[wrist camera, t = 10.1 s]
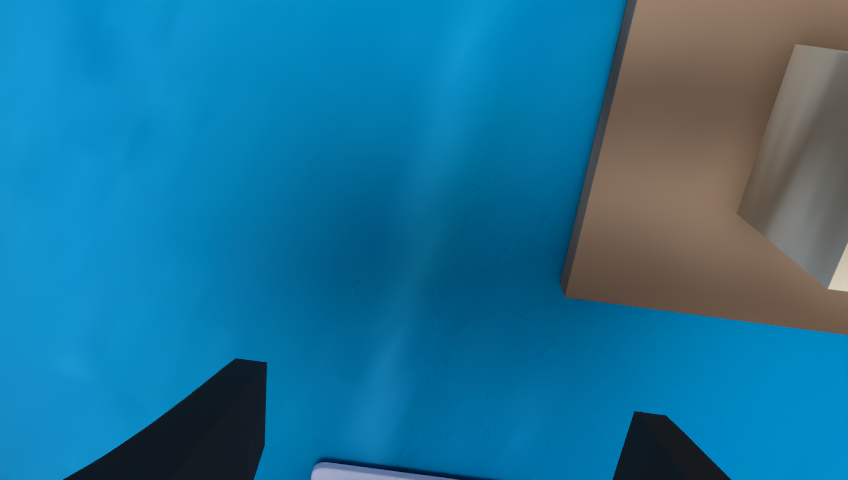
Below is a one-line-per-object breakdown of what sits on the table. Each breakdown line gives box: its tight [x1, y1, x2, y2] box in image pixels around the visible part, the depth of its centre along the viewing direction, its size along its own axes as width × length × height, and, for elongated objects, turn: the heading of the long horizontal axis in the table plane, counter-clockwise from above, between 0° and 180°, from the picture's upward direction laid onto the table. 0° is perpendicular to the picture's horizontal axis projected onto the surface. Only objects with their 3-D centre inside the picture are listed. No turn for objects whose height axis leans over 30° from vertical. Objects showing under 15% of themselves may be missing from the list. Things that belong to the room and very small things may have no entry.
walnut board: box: [560, 0, 848, 335], centre depth 18 cm, size 12×14×1 cm
